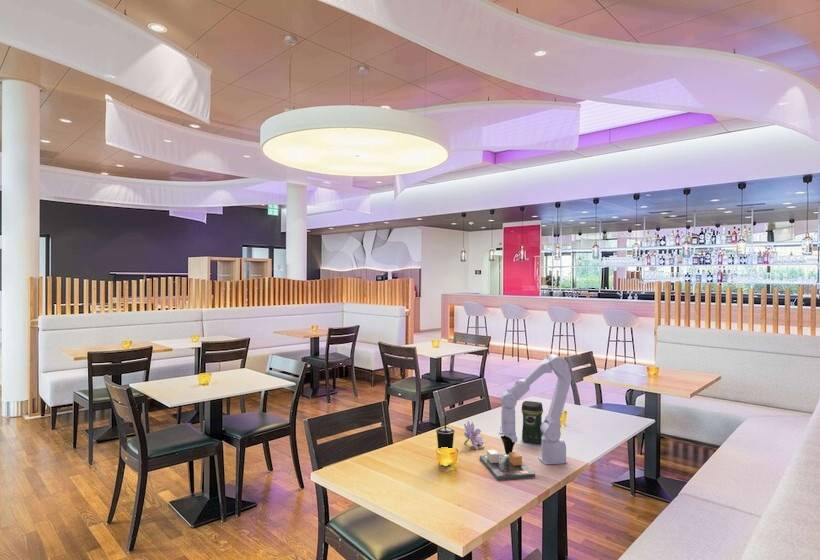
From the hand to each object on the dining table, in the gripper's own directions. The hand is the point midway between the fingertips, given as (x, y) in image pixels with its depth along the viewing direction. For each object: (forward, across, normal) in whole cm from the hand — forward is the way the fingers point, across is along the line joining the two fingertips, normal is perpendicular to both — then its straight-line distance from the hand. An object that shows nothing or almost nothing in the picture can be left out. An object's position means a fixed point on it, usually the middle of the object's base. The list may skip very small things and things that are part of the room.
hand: (508, 454), depth 200 cm
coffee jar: (+3, -22, +20) cm, 29 cm away
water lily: (+3, -20, -9) cm, 22 cm away
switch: (+1, +4, -8) cm, 9 cm away
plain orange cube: (+1, +7, 0) cm, 8 cm away
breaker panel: (+3, +8, -4) cm, 9 cm away
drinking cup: (+3, 0, -27) cm, 27 cm away
